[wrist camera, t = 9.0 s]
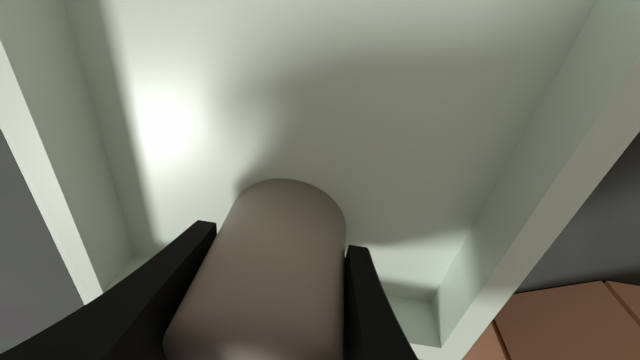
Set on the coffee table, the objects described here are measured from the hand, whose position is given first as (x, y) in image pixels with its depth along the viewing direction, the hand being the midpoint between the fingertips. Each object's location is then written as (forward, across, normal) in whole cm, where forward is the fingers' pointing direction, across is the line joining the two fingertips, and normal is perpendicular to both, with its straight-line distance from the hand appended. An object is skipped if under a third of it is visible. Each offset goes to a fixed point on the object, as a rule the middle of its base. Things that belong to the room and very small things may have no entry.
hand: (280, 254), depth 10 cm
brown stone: (+1, 0, 0) cm, 1 cm away
